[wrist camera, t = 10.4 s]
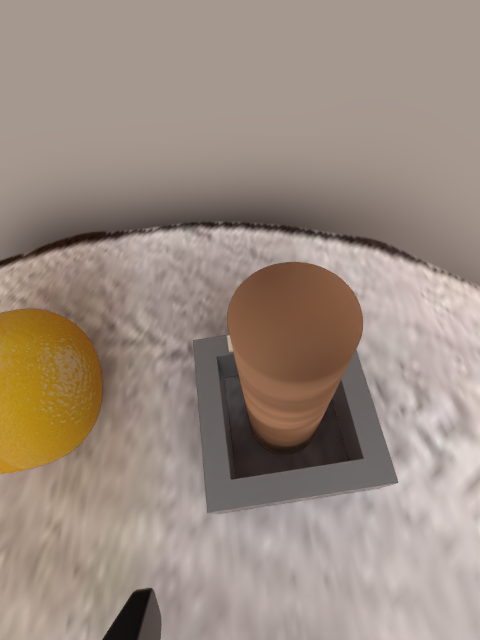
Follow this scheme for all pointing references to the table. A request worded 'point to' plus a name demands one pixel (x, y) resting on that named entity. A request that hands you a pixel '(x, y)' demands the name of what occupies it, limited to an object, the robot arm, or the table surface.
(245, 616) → the table surface
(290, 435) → the peg
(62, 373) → the fruit
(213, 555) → the table surface
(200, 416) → the socket block
